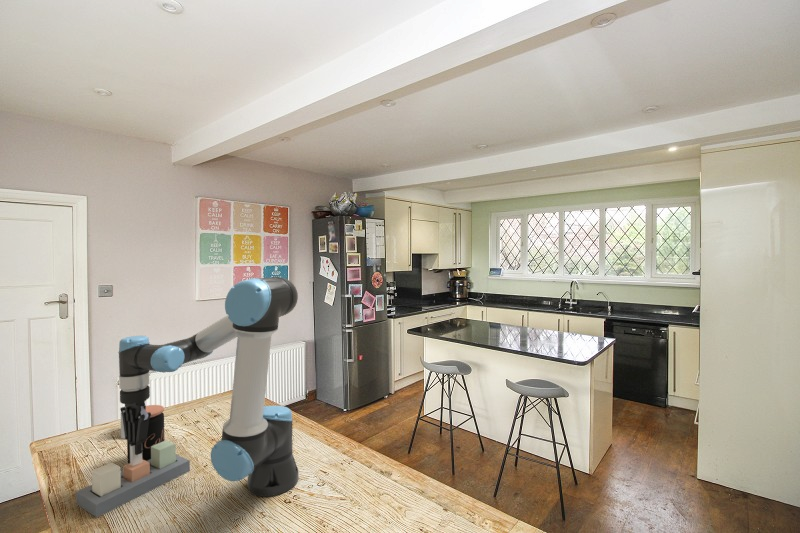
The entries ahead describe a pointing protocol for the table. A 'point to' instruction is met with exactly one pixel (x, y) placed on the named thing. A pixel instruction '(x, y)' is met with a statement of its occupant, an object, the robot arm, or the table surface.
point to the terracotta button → (136, 471)
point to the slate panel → (130, 488)
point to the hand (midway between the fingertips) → (136, 463)
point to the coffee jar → (152, 431)
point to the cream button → (106, 479)
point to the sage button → (163, 454)
